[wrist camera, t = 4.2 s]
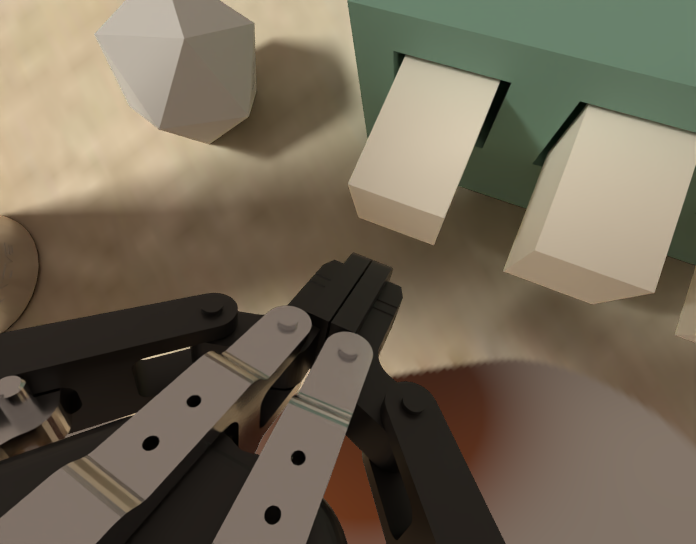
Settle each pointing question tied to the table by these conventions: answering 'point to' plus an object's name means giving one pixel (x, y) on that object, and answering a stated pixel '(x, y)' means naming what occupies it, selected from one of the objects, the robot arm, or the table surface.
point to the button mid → (605, 207)
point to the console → (540, 74)
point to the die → (183, 64)
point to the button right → (688, 314)
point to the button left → (420, 147)
